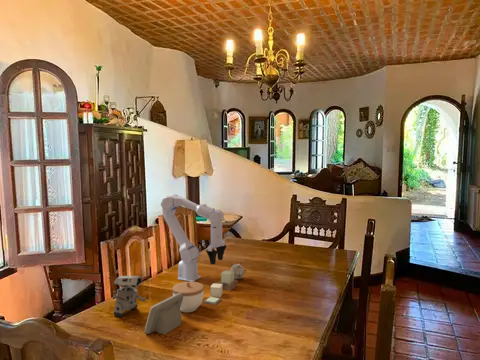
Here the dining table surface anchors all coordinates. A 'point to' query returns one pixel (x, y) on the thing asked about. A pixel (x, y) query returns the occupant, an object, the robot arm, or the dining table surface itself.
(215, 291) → the cream cube
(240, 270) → the game die
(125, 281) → the figurine
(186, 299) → the lidded bowl
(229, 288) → the walnut base
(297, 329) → the dining table surface
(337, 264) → the dining table surface
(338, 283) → the dining table surface
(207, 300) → the tile
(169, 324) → the digital clock
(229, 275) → the sage cube
